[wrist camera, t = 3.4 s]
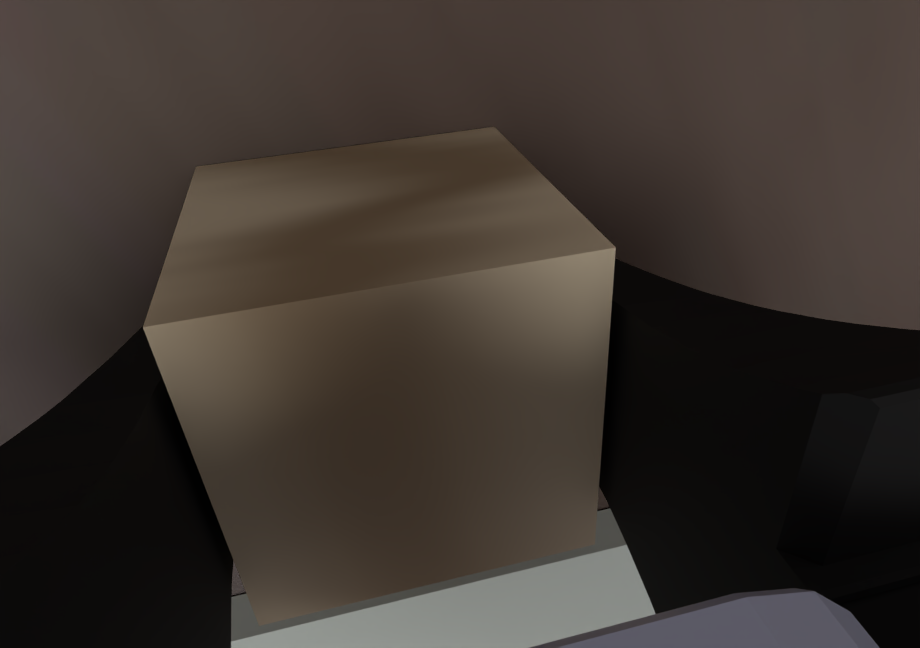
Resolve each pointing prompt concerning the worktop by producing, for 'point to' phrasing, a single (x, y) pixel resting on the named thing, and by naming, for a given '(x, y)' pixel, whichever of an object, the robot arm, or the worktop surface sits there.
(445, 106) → the worktop surface
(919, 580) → the robot arm
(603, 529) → the sage board
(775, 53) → the worktop surface
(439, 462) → the maple cube
